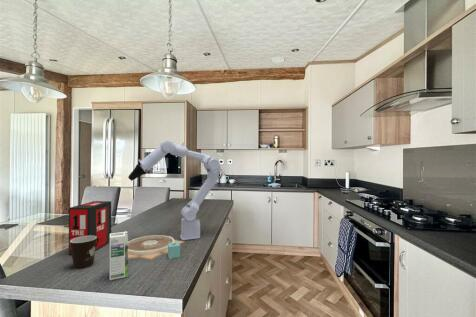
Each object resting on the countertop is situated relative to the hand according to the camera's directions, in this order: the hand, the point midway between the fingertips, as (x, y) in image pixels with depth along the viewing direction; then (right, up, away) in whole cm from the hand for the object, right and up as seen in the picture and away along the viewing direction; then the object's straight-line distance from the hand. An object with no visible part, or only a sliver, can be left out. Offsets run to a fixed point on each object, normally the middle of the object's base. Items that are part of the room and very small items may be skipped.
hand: (129, 178), depth 113 cm
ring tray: (+11, -31, -4) cm, 34 cm away
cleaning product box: (-16, -32, -4) cm, 36 cm away
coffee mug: (-7, -32, -20) cm, 38 cm away
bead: (+24, -32, -13) cm, 42 cm away
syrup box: (+10, -32, -30) cm, 44 cm away
